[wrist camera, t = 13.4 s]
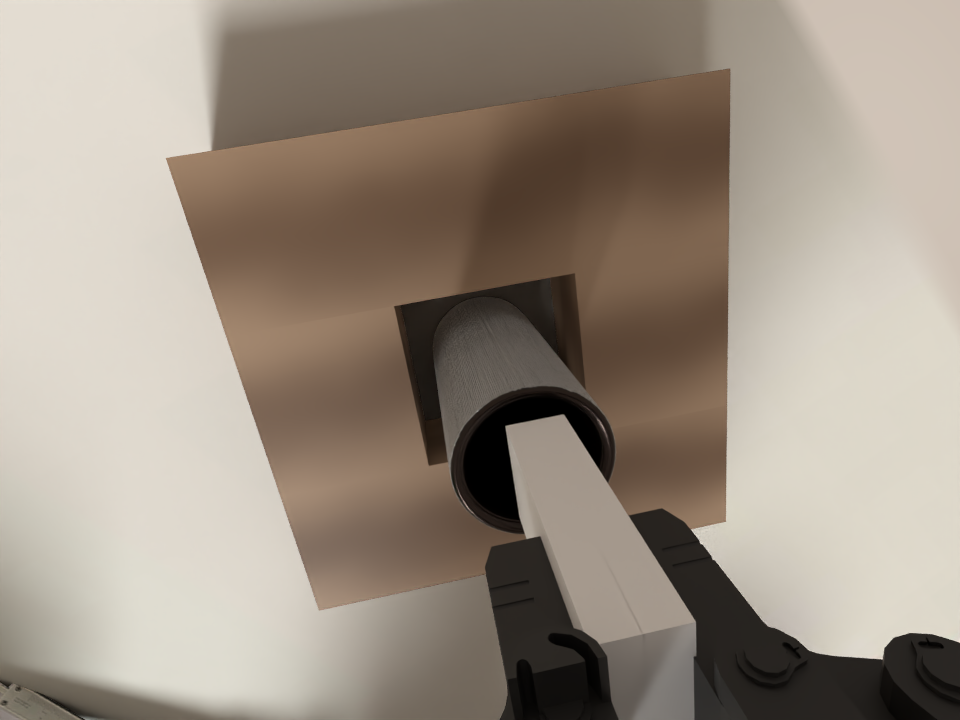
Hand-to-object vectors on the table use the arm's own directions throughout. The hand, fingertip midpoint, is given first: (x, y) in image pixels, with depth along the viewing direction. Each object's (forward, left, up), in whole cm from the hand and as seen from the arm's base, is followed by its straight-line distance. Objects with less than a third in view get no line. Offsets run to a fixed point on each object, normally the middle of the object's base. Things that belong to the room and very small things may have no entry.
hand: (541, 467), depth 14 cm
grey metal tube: (0, 0, -11) cm, 11 cm away
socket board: (0, 0, -11) cm, 11 cm away
